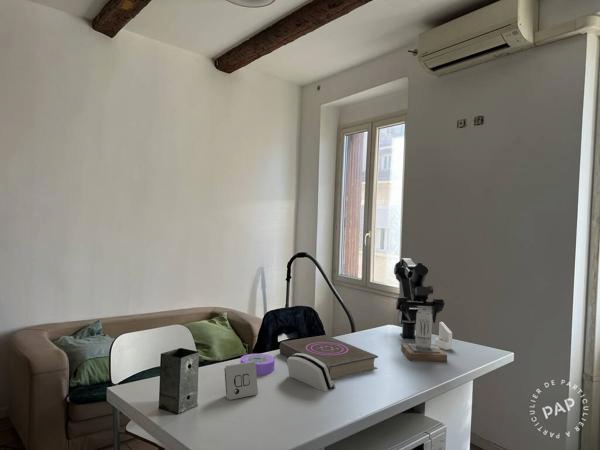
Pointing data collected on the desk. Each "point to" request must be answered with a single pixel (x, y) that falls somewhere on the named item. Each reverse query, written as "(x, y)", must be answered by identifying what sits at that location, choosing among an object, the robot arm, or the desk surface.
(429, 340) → the energy drink can
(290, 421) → the desk surface
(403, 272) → the robot arm
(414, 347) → the brown square frame
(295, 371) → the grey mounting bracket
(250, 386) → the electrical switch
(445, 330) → the white angled block
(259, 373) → the masking tape
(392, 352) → the desk surface
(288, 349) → the book
